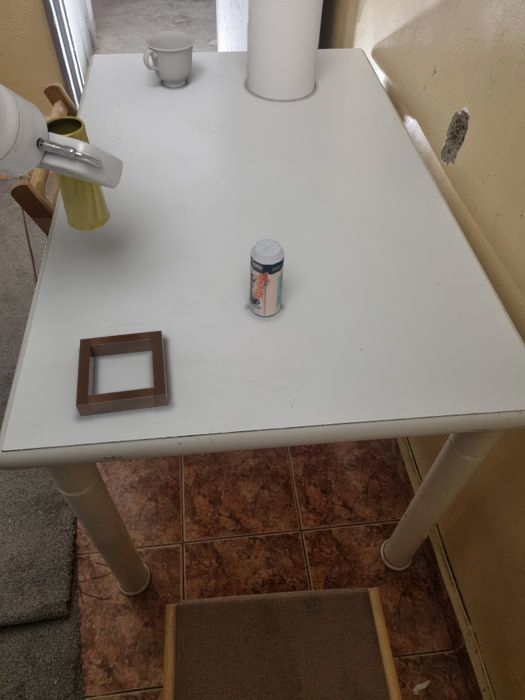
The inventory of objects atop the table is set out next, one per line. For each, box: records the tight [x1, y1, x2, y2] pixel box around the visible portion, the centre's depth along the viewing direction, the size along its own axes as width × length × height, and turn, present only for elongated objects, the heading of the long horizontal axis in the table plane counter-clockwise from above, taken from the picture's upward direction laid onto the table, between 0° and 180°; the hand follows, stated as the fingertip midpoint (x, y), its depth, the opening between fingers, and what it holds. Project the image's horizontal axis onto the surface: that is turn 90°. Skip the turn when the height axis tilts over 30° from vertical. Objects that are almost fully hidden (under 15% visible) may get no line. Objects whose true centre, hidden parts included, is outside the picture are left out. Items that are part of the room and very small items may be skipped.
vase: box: [46, 115, 111, 232], centre depth 71 cm, size 6×6×14 cm
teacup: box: [142, 30, 196, 89], centre depth 127 cm, size 12×15×10 cm
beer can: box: [249, 238, 285, 317], centre depth 77 cm, size 5×5×12 cm
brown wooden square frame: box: [75, 330, 169, 417], centre depth 72 cm, size 12×12×2 cm
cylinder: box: [246, 0, 324, 101], centre depth 122 cm, size 17×17×28 cm
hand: (78, 169), depth 71 cm, fingers closed on vase, 5 cm apart
